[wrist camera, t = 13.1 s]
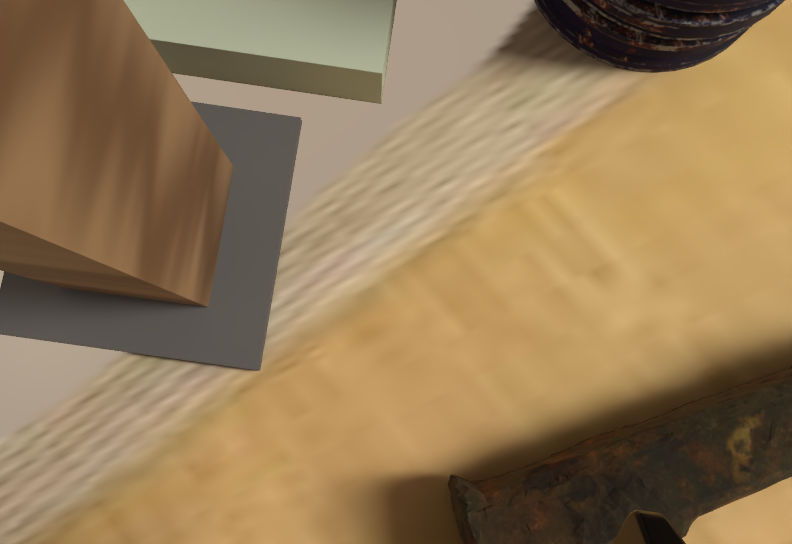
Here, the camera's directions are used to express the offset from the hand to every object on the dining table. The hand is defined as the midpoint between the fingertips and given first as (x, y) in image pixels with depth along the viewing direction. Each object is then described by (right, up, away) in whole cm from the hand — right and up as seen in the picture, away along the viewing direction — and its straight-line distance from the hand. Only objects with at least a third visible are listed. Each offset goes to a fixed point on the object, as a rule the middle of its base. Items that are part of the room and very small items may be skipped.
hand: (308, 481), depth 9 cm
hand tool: (+12, -2, +14) cm, 19 cm away
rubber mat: (-7, +5, +14) cm, 17 cm away
